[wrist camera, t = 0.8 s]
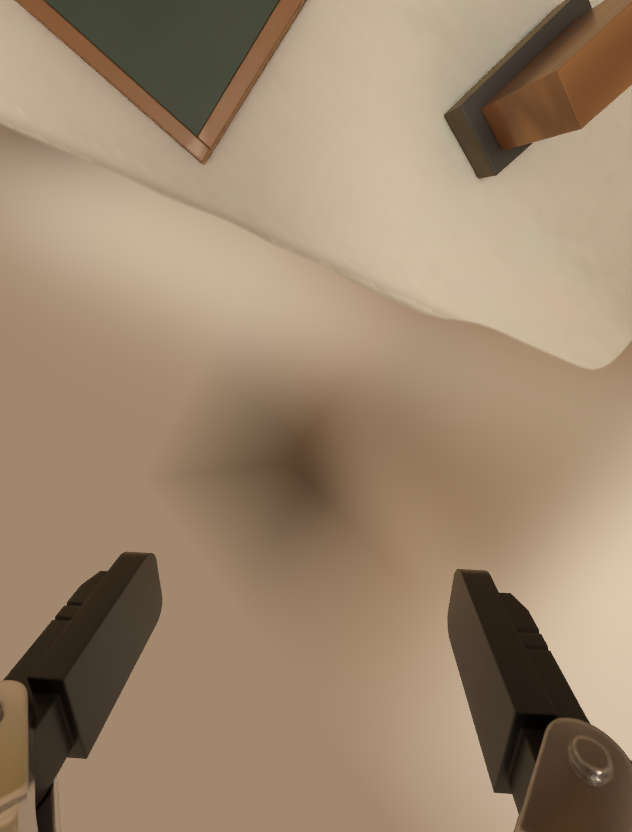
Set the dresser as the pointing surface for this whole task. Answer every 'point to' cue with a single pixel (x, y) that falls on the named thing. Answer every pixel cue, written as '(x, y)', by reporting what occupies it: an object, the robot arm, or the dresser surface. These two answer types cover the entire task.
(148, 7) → the chalkboard
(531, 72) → the duster
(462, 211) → the dresser surface
